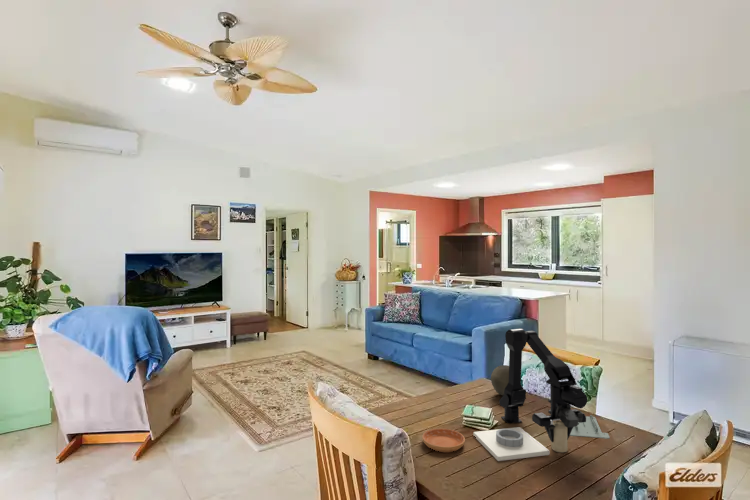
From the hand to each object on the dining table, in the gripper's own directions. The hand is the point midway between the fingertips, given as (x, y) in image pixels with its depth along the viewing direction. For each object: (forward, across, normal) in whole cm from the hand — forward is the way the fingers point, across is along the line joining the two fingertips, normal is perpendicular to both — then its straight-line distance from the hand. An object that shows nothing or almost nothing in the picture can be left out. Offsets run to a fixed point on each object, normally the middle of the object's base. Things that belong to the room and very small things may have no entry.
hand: (559, 440), depth 154 cm
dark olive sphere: (+3, +8, +54) cm, 55 cm away
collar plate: (+3, -16, +7) cm, 18 cm away
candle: (+3, 0, 0) cm, 3 cm away
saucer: (+4, -40, +13) cm, 42 cm away
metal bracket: (+4, +20, +12) cm, 23 cm away
